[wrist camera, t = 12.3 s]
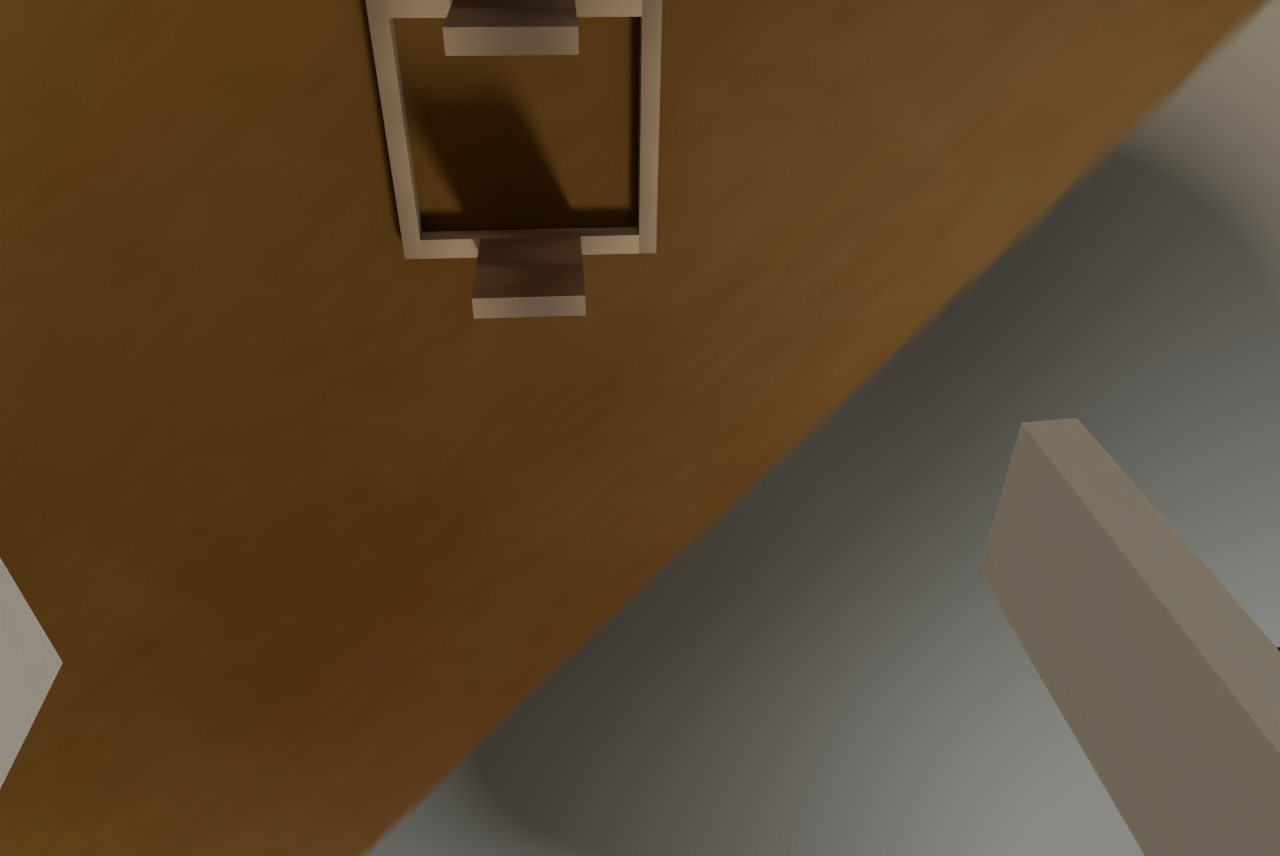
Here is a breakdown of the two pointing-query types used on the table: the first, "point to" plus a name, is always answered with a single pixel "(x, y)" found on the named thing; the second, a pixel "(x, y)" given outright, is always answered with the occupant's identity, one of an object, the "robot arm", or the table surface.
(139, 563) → the table surface
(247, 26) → the table surface
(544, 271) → the caddy
